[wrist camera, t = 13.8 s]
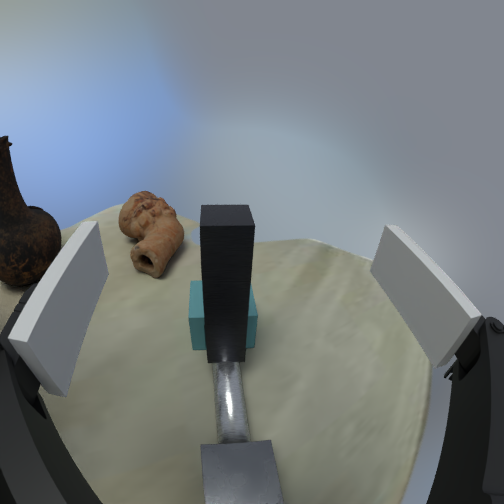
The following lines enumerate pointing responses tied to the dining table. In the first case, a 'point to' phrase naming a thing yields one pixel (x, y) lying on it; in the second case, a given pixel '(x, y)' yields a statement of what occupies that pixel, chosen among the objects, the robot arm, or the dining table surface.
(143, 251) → the clay pipe
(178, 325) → the dining table surface
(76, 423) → the dining table surface
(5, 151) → the glass bottle
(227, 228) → the dark lever handle
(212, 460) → the outer sleeve
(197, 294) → the socket block
